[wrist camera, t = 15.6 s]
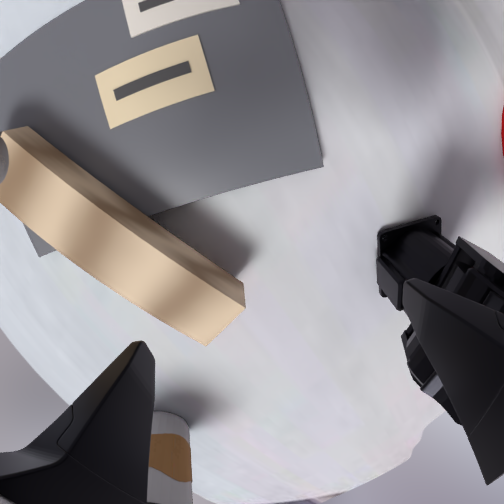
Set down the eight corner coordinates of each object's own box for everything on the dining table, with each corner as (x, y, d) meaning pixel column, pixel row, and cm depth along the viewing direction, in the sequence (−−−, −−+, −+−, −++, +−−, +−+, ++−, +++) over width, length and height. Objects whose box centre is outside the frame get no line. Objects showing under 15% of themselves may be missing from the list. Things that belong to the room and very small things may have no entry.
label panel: (256, -48, 12) (258, -56, 11) (319, 164, 19) (325, 167, 18) (-12, 76, 13) (-21, 76, 12) (44, 251, 20) (37, 258, 19)
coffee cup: (122, 417, 31) (104, 516, 18) (157, 397, 29) (142, 517, 16) (171, 441, 35) (166, 533, 21) (210, 425, 33) (212, 531, 19)
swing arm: (243, 282, 22) (245, 308, 19) (207, 319, 23) (205, 346, 20) (15, 114, 14) (-11, 119, 11) (-5, 164, 15) (-29, 174, 13)
